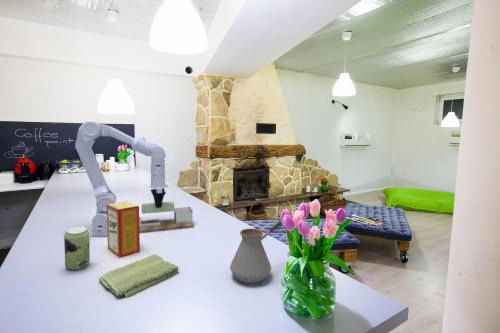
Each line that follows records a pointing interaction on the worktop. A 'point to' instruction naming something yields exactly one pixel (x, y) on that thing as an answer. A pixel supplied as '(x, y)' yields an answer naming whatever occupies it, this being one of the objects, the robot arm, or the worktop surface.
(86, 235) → the beverage can
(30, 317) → the worktop surface
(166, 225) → the board
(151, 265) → the washcloth
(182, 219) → the end caps
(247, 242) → the coffee pot
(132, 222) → the baking soda box
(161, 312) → the worktop surface
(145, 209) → the green long rectangular block
